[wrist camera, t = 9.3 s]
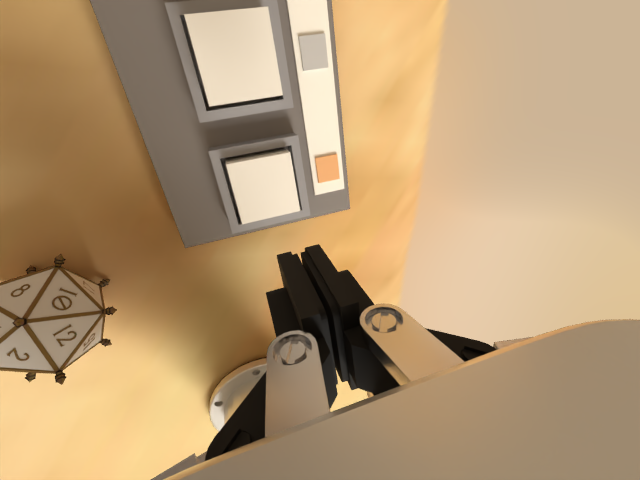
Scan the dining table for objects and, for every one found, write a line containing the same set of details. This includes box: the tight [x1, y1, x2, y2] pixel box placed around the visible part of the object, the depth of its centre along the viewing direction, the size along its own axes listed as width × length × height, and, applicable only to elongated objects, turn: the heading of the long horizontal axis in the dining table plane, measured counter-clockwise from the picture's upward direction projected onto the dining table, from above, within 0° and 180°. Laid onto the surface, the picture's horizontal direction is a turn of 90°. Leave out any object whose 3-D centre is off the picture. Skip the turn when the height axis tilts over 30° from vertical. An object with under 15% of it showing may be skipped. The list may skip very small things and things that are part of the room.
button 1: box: [225, 148, 300, 224], centre depth 23 cm, size 4×4×2 cm
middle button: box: [184, 7, 283, 107], centre depth 18 cm, size 4×4×2 cm
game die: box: [0, 254, 117, 385], centre depth 21 cm, size 9×8×10 cm
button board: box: [90, 0, 350, 248], centre depth 20 cm, size 24×14×4 cm, turn 7°
